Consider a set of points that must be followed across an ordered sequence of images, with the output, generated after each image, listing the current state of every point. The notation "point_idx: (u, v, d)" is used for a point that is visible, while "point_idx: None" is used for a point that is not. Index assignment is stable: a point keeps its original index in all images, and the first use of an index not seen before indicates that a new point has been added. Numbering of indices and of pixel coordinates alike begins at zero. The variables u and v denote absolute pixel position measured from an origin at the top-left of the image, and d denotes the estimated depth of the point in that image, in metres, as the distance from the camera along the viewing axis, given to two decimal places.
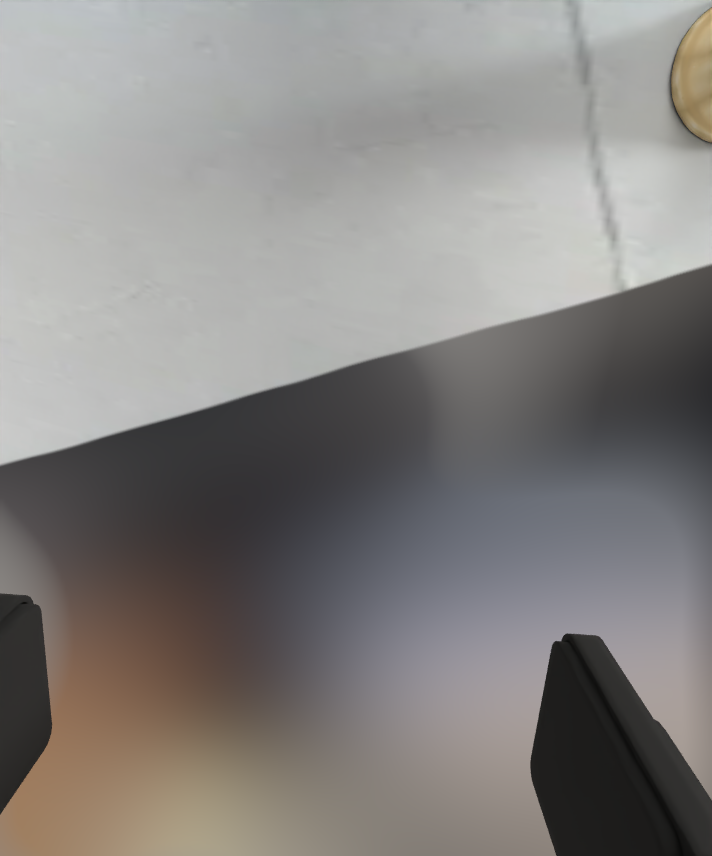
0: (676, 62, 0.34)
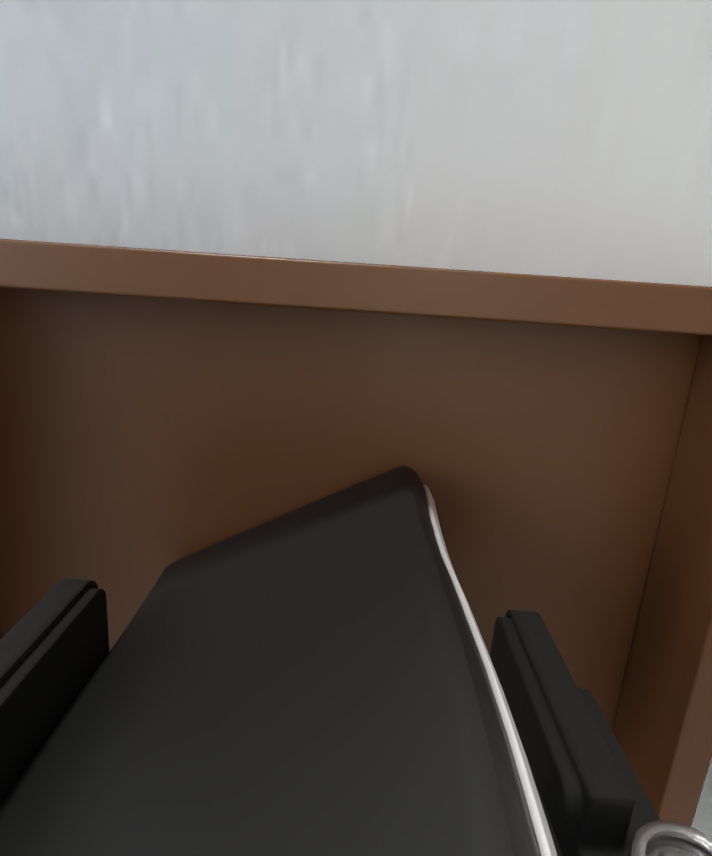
0: None
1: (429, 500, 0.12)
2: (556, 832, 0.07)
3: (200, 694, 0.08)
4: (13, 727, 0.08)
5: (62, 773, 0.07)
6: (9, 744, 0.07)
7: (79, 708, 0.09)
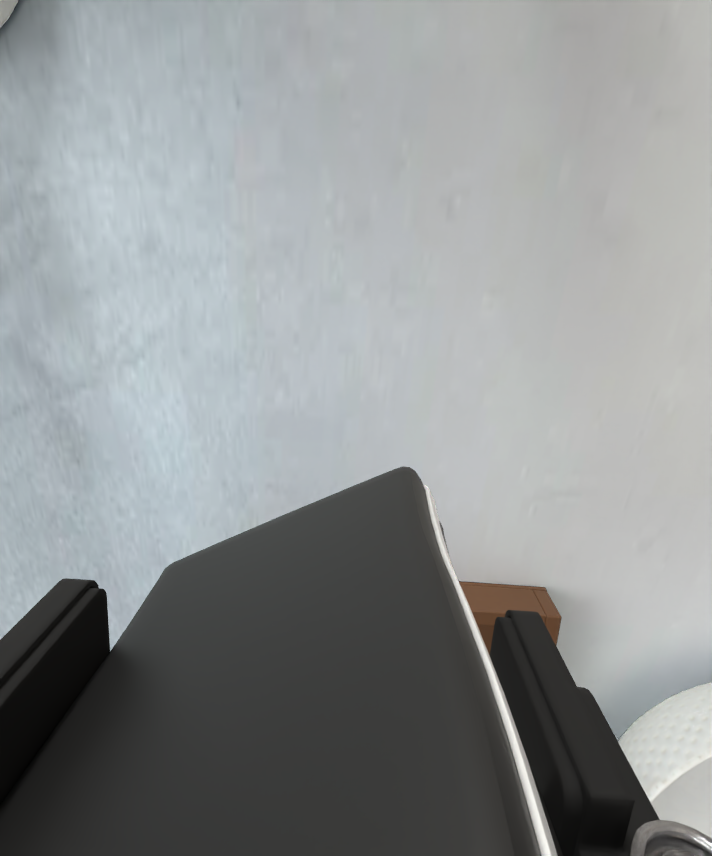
0: None
1: (430, 501, 0.12)
2: (556, 832, 0.07)
3: (200, 696, 0.08)
4: (13, 727, 0.08)
5: (62, 775, 0.07)
6: (9, 744, 0.07)
7: (79, 709, 0.09)
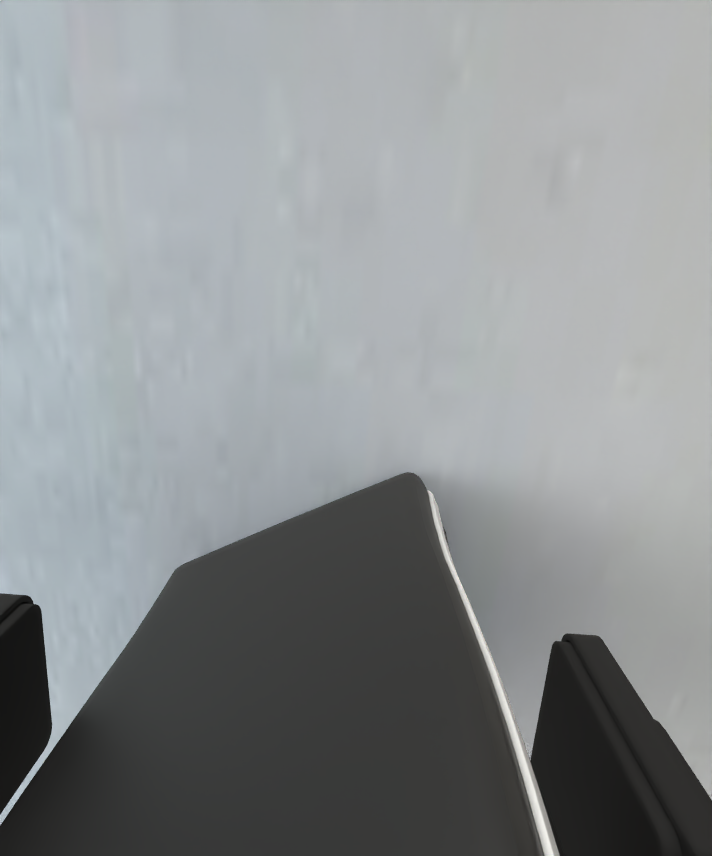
0: None
1: (433, 506, 0.12)
2: None
3: (213, 691, 0.08)
4: None
5: (81, 765, 0.08)
6: None
7: (95, 704, 0.09)
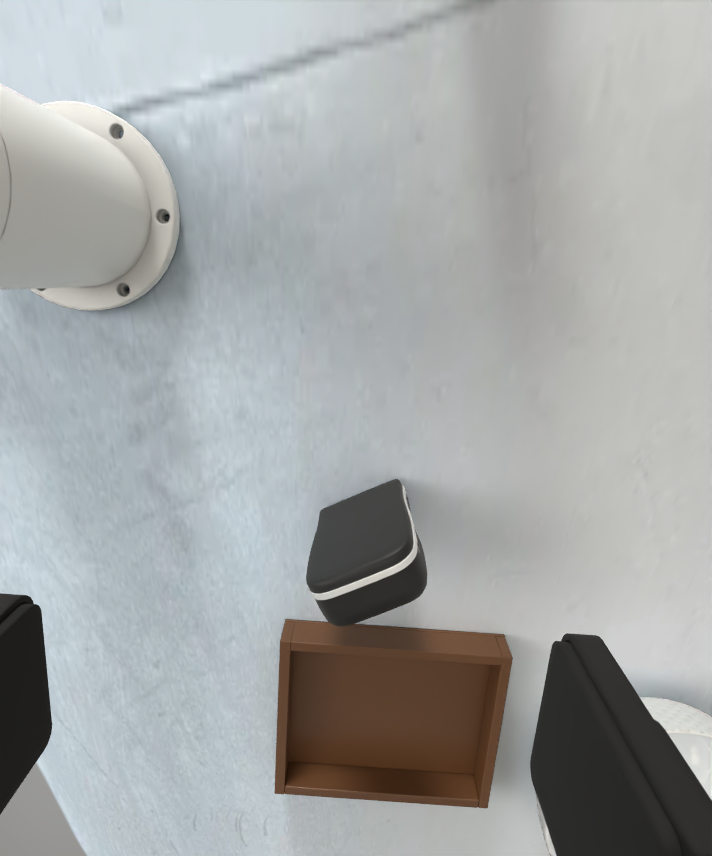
0: None
1: (403, 489, 0.40)
2: None
3: (351, 528, 0.36)
4: None
5: (324, 542, 0.36)
6: None
7: (319, 536, 0.37)
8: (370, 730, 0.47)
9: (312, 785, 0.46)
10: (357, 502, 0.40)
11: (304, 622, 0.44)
